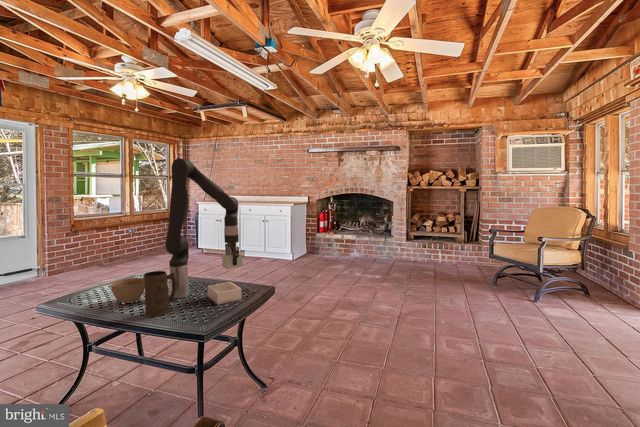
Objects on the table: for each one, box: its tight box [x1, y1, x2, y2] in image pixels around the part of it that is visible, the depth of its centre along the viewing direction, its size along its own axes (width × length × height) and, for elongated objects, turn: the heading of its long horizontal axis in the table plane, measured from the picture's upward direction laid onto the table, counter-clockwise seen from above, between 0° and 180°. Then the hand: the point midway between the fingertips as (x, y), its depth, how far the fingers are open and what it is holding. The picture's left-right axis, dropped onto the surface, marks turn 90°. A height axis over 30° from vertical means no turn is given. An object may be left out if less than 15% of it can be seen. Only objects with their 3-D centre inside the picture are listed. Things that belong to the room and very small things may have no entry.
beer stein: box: [143, 270, 177, 318], centre depth 169 cm, size 15×11×20 cm
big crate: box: [207, 281, 243, 306], centre depth 187 cm, size 13×16×6 cm
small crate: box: [221, 252, 244, 270], centre depth 192 cm, size 9×6×7 cm
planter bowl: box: [110, 277, 145, 303], centre depth 185 cm, size 16×16×11 cm
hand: (232, 263), depth 192 cm, fingers closed on small crate, 6 cm apart
